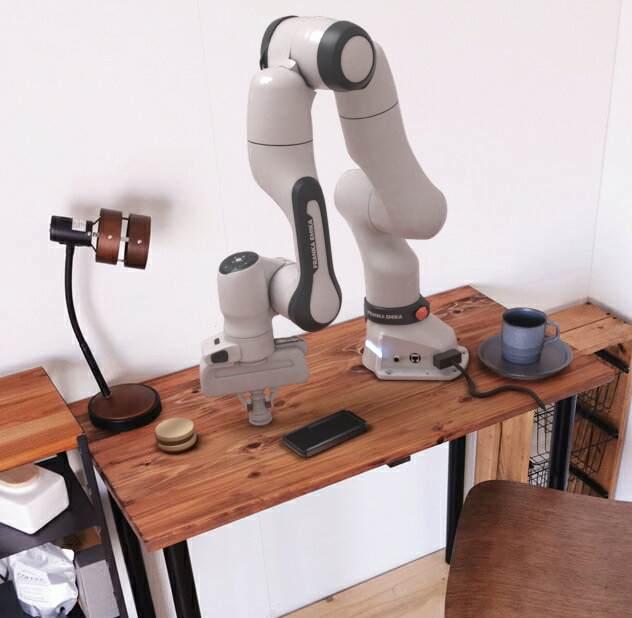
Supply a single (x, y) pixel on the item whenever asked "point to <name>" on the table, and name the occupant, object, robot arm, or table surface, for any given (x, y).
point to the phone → (325, 433)
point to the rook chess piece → (259, 409)
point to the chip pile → (175, 435)
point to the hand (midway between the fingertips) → (258, 408)
